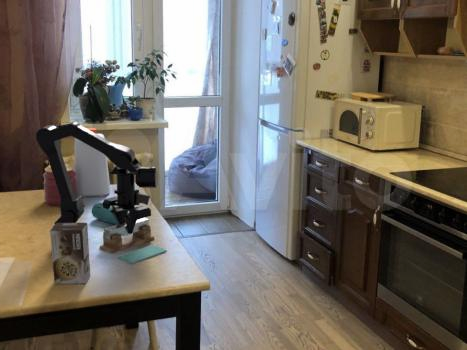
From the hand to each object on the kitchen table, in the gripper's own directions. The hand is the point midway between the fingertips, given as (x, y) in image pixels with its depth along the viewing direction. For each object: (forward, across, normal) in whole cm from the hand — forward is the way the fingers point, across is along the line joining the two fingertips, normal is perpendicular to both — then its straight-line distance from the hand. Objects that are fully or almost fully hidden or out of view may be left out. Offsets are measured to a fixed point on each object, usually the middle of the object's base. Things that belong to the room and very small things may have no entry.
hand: (127, 232), depth 187 cm
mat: (+4, -11, +2) cm, 12 cm away
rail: (0, 0, 0) cm, 0 cm away
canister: (+4, +57, -10) cm, 58 cm away
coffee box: (+4, -11, +28) cm, 30 cm away
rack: (+4, 0, 0) cm, 4 cm away
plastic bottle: (+4, +60, -27) cm, 66 cm away
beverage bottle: (+1, +31, -8) cm, 32 cm away
